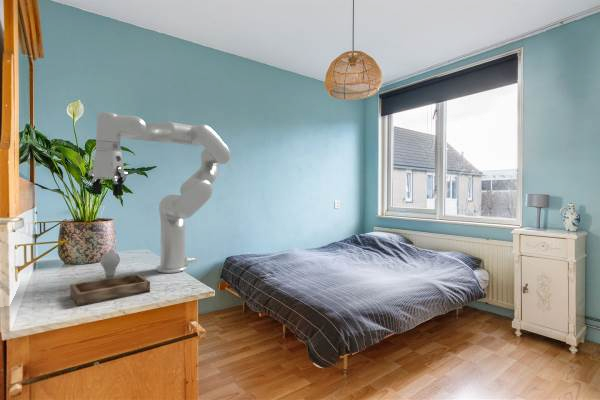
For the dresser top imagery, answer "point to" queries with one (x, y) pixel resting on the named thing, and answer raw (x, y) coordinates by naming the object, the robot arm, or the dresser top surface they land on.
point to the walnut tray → (108, 289)
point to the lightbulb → (110, 263)
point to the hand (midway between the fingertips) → (107, 194)
